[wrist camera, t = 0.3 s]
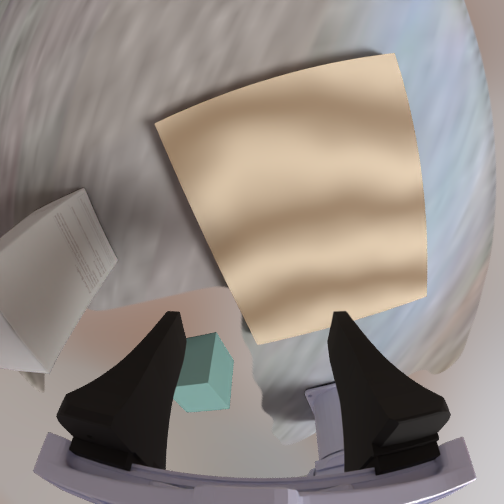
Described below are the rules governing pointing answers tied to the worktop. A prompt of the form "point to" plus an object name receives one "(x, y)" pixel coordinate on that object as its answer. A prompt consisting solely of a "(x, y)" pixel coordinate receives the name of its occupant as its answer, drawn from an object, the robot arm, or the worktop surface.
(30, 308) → the supplement box
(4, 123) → the worktop surface
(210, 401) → the teal block
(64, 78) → the worktop surface
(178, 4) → the worktop surface
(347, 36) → the worktop surface
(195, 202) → the birch board
